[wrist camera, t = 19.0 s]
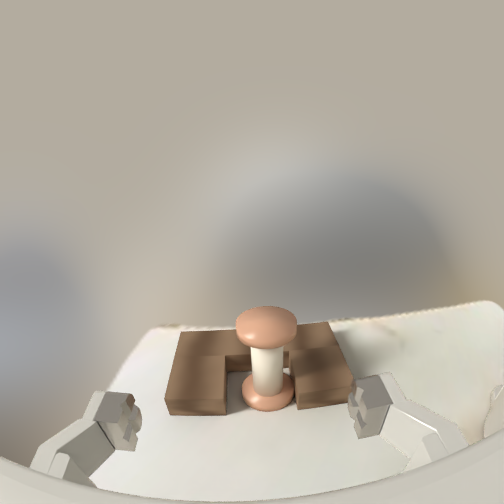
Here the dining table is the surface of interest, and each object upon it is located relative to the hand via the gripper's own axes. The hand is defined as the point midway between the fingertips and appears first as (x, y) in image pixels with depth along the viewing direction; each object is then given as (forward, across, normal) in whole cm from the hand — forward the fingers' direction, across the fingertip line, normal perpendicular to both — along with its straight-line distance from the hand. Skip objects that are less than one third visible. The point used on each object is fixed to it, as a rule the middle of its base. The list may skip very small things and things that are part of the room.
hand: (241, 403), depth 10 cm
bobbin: (+20, -2, +21) cm, 29 cm away
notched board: (+23, -1, +21) cm, 31 cm away
